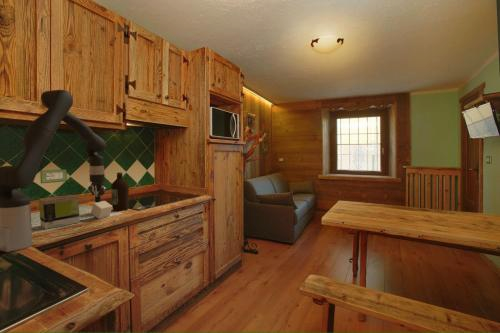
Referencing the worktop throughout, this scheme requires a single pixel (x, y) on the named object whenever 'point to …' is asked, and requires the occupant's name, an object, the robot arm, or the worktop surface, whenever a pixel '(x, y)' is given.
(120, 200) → the olive oil
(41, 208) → the tea box
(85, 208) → the worktop surface
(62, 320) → the worktop surface
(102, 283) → the worktop surface
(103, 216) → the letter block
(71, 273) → the worktop surface
